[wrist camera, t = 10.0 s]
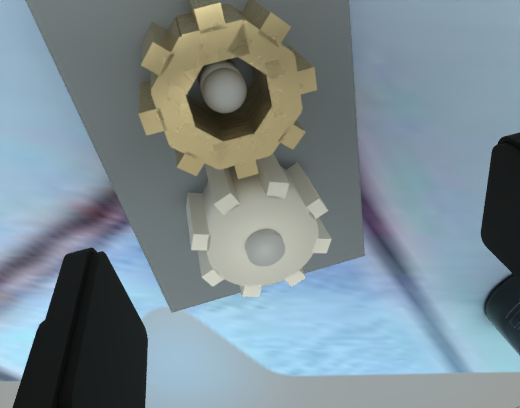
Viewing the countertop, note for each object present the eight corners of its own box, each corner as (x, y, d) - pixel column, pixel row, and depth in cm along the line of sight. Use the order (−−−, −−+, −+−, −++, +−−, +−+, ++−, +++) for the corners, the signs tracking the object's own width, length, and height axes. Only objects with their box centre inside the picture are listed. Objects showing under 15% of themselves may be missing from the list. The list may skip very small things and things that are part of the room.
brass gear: (278, -29, 19) (304, -19, 16) (300, 122, 23) (324, 155, 20) (114, 12, 19) (106, 30, 15) (167, 159, 23) (170, 198, 20)
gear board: (305, -433, 14) (389, -627, 9) (356, 242, 31) (395, 303, 26) (-126, -355, 13) (-294, -524, 8) (171, 296, 30) (174, 370, 25)
